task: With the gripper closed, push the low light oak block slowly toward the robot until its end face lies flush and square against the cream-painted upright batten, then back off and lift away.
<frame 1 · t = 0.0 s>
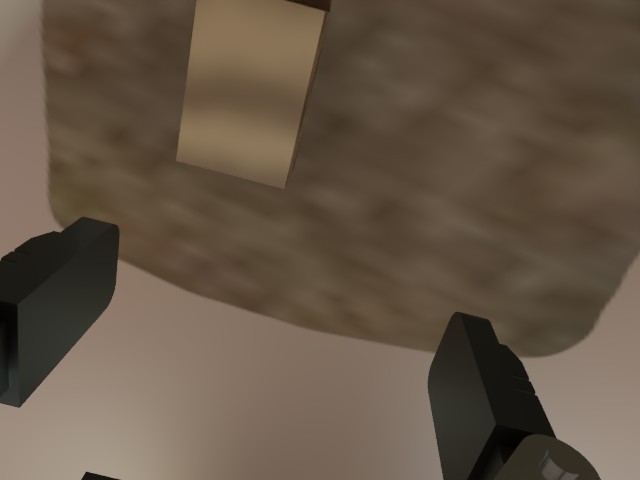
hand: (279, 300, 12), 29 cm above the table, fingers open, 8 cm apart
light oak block: (260, 81, 38), on the table
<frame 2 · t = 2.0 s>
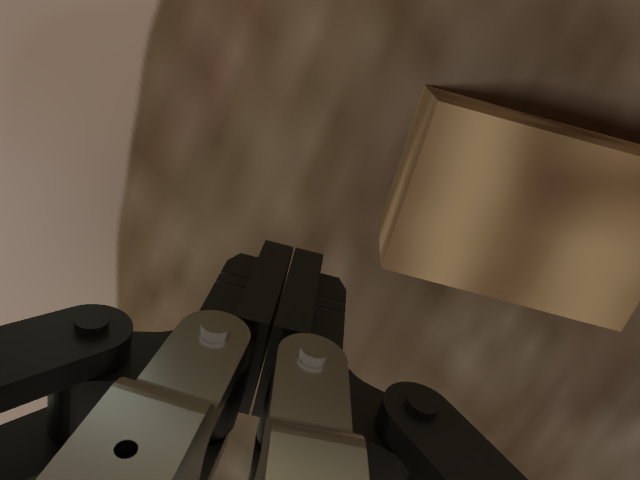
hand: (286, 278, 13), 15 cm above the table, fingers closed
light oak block: (505, 187, 27), on the table
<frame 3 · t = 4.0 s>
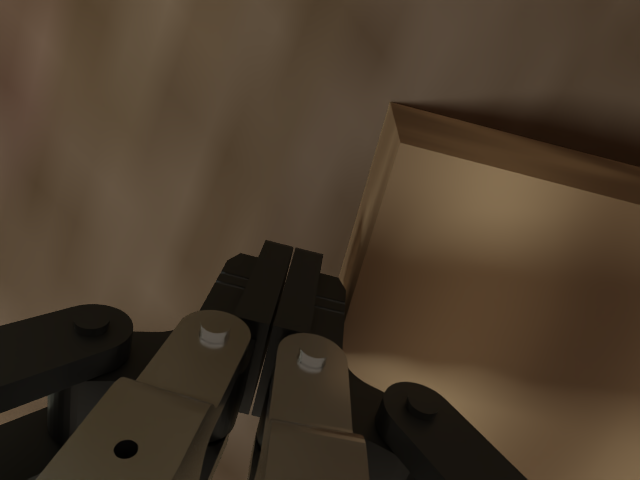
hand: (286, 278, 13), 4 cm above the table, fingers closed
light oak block: (529, 266, 17), on the table
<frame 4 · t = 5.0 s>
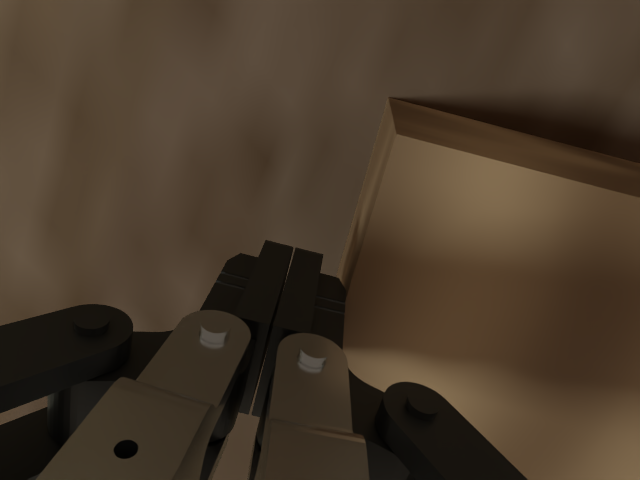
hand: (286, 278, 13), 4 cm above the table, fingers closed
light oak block: (526, 260, 17), on the table
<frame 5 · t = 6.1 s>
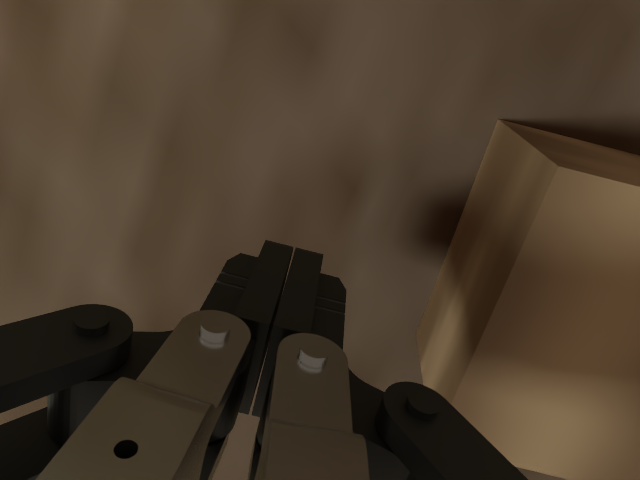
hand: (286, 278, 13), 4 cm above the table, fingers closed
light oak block: (623, 277, 17), on the table
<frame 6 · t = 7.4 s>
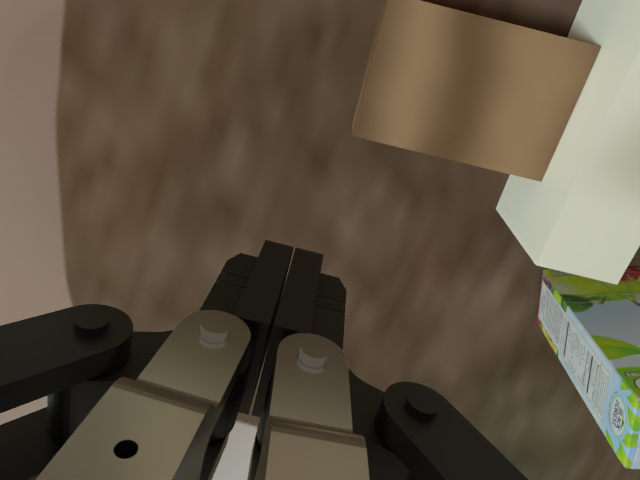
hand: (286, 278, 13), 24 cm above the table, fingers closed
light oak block: (453, 81, 34), on the table
cream batten: (575, 110, 34), on the table
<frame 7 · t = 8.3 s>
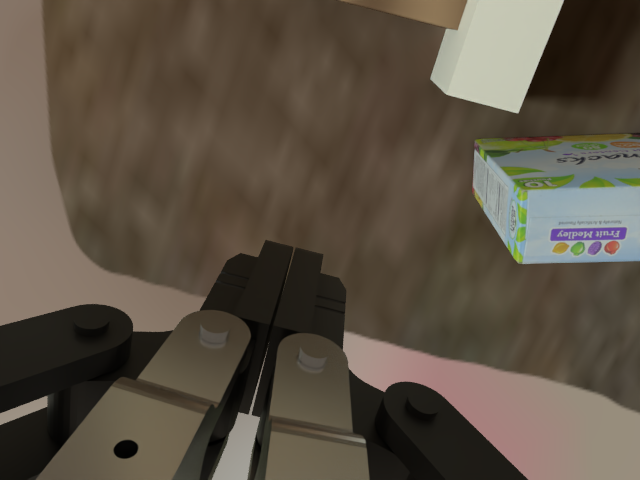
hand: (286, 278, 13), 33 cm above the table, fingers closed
snack box: (594, 159, 44), on the table
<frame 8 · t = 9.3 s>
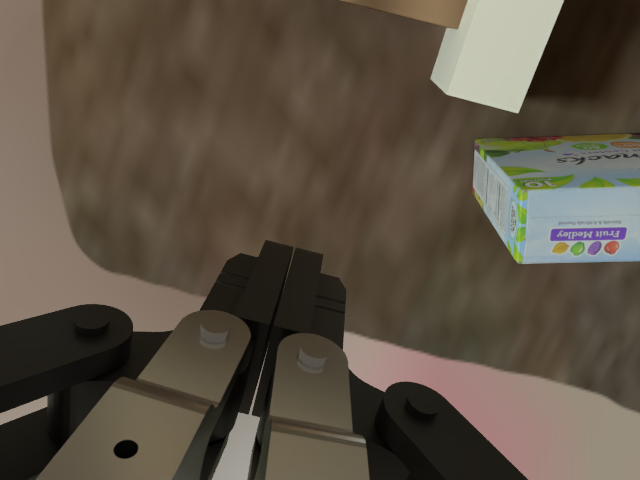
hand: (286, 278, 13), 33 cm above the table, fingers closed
snack box: (595, 159, 44), on the table
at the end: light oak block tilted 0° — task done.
